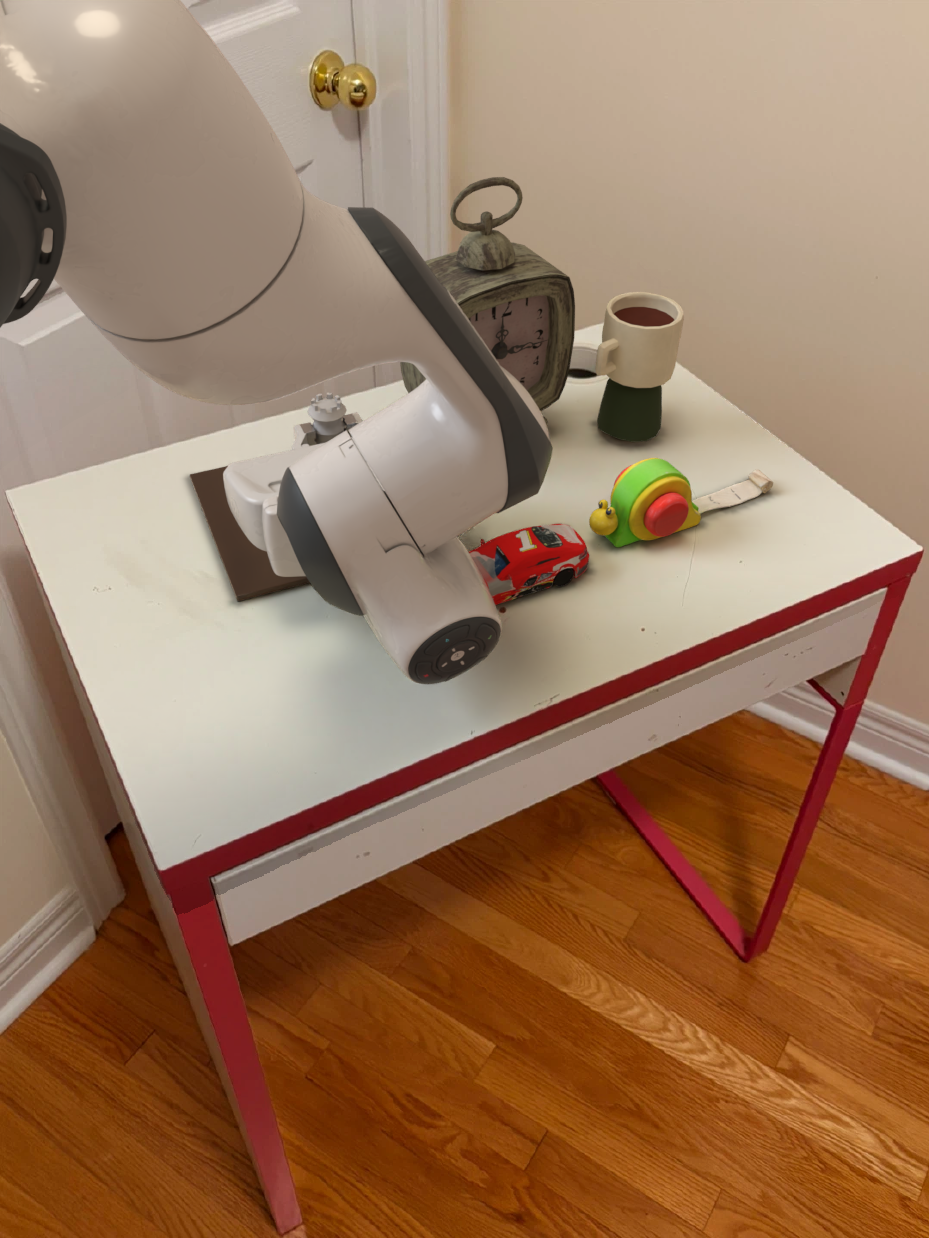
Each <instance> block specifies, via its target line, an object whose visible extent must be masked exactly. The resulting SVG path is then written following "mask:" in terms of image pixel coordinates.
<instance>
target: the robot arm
mask: <svg viewBox="0 0 929 1238" xmlns="http://www.w3.org/2000/svg"><path fill="white" fill-rule="evenodd" d="M425 261H426V260H425V259H424V258H423V257H422V256H421V254H420V252H419V251H418V250H417V248H416V247H415V245H414V244H413V243H412V241H411V240H410V239H409V237H408V236H407V235H406V234H405V233H404V232H403V231H402V230H401V228H399V227H398V225H396V224H395V222H393V221H392V220H391V219H390V218H389V217H387V216H386V215H385V214H383V213H382V212H380V211H379V210H377V209H376V208H375V207H369V206H367V207H361V206H358V207H355V206H347V208H344V207H341V206H338V205H335V204H333V203H330V202H328V201H325V200H324V199H321V198H320V197H318V196H316V195H315V194H313V193H312V192H310V191H309V190H308V189H307V187H305V186H304V184H303V183H302V181H301V180H300V177H299V176H298V174H297V171H296V169H295V167H294V165H293V164H292V161H291V160H290V158H289V156H288V153H287V152H286V150H285V149H284V147H283V145H282V143H281V141H280V139H279V138H278V136H277V134H276V132H275V131H274V129H273V128H272V126H271V124H270V122H269V121H268V119H267V117H266V115H265V114H264V112H263V111H262V109H261V107H260V106H259V104H258V103H257V101H256V100H255V98H254V97H253V95H252V94H251V92H250V91H249V89H248V88H247V86H246V84H245V83H244V82H243V80H242V79H241V77H240V76H239V74H238V72H237V71H236V69H235V68H234V66H232V64H231V63H230V61H229V60H228V59H227V57H226V56H225V54H224V53H223V52H222V50H221V49H220V48H219V46H218V45H217V44H216V42H215V41H214V40H213V38H212V37H211V36H210V34H209V33H208V32H207V31H206V30H205V29H204V27H203V26H202V24H201V23H200V22H199V21H198V20H197V18H196V17H195V16H194V14H192V12H191V11H190V10H189V9H188V7H187V6H186V5H185V4H184V3H183V1H182V0H0V328H2V326H3V325H5V324H9V323H13V322H16V321H18V320H20V319H23V318H24V317H26V316H27V315H29V314H30V313H31V312H32V311H33V310H34V309H35V308H36V307H37V306H38V304H40V302H41V300H42V299H43V298H44V297H45V295H46V294H47V292H48V291H49V289H50V287H51V285H52V283H53V281H55V282H56V283H57V284H58V285H59V287H60V288H61V289H62V290H63V291H64V293H65V294H66V295H67V296H68V297H69V299H70V300H71V301H72V302H73V303H74V304H75V305H76V306H77V308H78V309H79V311H80V312H81V313H83V315H84V316H85V317H86V318H87V319H88V321H90V323H91V324H92V325H93V326H94V327H95V328H96V330H97V331H99V333H100V334H101V335H102V336H103V337H104V338H105V339H106V341H108V343H110V344H111V345H112V346H113V347H114V348H115V349H116V350H117V351H118V352H119V353H120V354H121V355H122V356H123V357H124V358H125V359H126V360H127V361H128V362H130V364H132V365H133V366H134V367H135V368H136V369H138V370H139V371H140V372H141V373H143V374H144V375H145V376H146V377H148V378H149V379H150V380H152V381H153V382H155V383H157V384H158V385H160V386H161V387H163V388H165V389H166V390H169V391H170V392H172V393H175V394H177V395H179V396H182V397H184V398H186V399H190V400H193V401H197V402H200V403H206V404H212V405H222V406H246V405H256V404H261V403H268V402H271V401H276V400H279V399H283V398H286V397H289V396H292V395H294V394H297V393H300V392H302V391H305V390H307V389H309V388H312V387H315V386H317V385H320V384H323V383H325V382H327V381H331V380H333V379H335V378H338V377H339V378H340V377H341V376H345V375H347V374H350V373H353V372H356V371H360V370H363V369H367V368H371V367H375V366H379V365H383V364H393V363H400V362H408V363H412V364H414V365H415V366H416V367H417V369H418V370H419V371H420V372H421V373H422V374H423V376H424V377H425V378H426V380H425V381H424V382H423V383H422V384H420V385H419V386H418V387H417V388H416V389H414V390H413V391H411V392H410V393H408V392H407V393H406V394H405V395H404V396H403V395H402V396H401V398H398V399H397V400H395V401H394V402H392V403H390V404H388V405H387V406H385V407H383V408H381V409H380V410H379V411H377V412H375V413H374V414H372V415H370V416H369V417H368V418H366V419H364V420H363V418H362V417H361V416H360V414H359V412H357V411H356V412H352V413H348V414H345V415H344V416H343V418H342V421H343V422H344V424H345V427H344V429H343V433H341V434H339V435H338V436H336V437H334V438H333V439H331V440H329V441H328V442H326V443H321V444H317V442H316V440H315V439H316V431H315V429H314V427H312V424H313V423H312V422H305V423H304V422H303V423H299V424H295V425H293V435H294V436H293V437H294V442H293V443H292V445H291V449H290V450H285V451H281V452H276V453H271V454H266V455H262V456H258V457H257V456H256V457H253V458H248V459H244V460H238V461H234V462H231V463H230V464H228V465H227V466H228V467H227V468H226V469H225V471H224V473H223V480H224V487H225V492H226V497H227V501H228V504H229V507H230V510H231V512H232V514H233V516H234V518H235V519H236V521H237V523H238V525H239V526H240V528H241V529H242V531H243V532H244V534H245V535H246V537H247V538H248V539H249V541H250V542H251V543H252V544H253V545H255V546H256V547H257V548H259V549H261V550H263V551H267V553H268V557H269V560H270V563H271V566H272V569H273V571H274V573H275V574H276V575H278V576H282V577H297V576H306V577H307V579H308V580H309V582H310V583H309V584H310V585H311V586H312V588H313V590H314V591H315V592H316V593H317V594H318V595H319V596H320V597H321V598H322V600H323V601H325V602H326V603H327V604H329V605H330V606H332V607H335V608H337V609H340V610H341V611H343V612H346V613H349V614H352V615H354V616H358V617H359V616H360V617H364V619H365V621H366V623H367V625H368V627H370V629H371V631H372V633H373V634H374V637H376V639H377V641H378V642H379V644H380V645H381V647H382V648H383V650H384V651H385V653H386V654H387V656H388V657H389V658H390V659H391V660H392V662H393V663H394V664H395V666H396V667H397V668H398V669H399V670H400V671H401V672H402V674H403V675H404V676H405V677H406V678H407V679H409V680H410V681H411V682H412V683H416V684H420V685H435V684H436V685H437V684H441V683H445V682H449V681H451V680H453V679H456V678H457V677H459V676H461V675H463V674H464V673H466V672H468V671H469V670H471V669H472V668H474V667H475V666H477V665H479V664H480V663H481V662H483V661H484V660H485V659H486V658H487V657H489V655H490V654H491V653H492V652H493V651H494V649H495V648H496V647H497V644H498V643H499V641H500V639H501V636H502V631H503V626H502V620H501V617H500V614H499V610H498V609H497V605H495V603H494V601H493V598H492V596H491V594H490V592H489V589H488V587H487V585H486V583H485V581H484V579H483V577H482V575H481V573H480V571H479V569H478V567H477V566H476V564H475V562H474V560H473V559H472V557H471V555H470V554H469V551H468V549H467V547H466V546H465V545H464V543H463V542H462V541H461V539H459V536H460V535H462V534H463V533H465V532H467V531H468V530H470V529H472V528H474V527H476V526H477V525H479V524H480V523H482V522H483V521H485V520H487V519H489V518H490V517H492V516H493V515H495V514H500V513H502V512H504V511H506V510H508V509H510V508H512V507H514V506H516V505H518V504H520V503H522V502H524V501H526V500H528V499H531V498H533V497H535V496H536V495H538V494H539V492H540V491H541V487H542V485H543V483H544V482H545V481H544V480H545V479H546V475H547V472H548V470H549V466H550V463H551V460H552V454H553V449H554V447H553V445H552V443H551V436H550V431H549V429H548V426H547V425H546V422H545V420H544V417H545V416H544V415H543V414H542V411H540V410H539V408H538V406H537V404H536V403H535V401H534V400H533V398H532V397H531V395H530V394H529V393H528V391H527V390H526V389H525V388H524V386H523V385H522V384H521V383H520V382H519V381H518V380H517V379H516V378H515V377H514V376H513V375H511V374H510V373H509V372H508V371H507V370H505V369H504V368H503V367H502V366H500V365H499V362H498V361H497V360H496V358H495V357H494V356H493V354H492V352H491V351H490V350H489V348H488V347H487V345H486V344H485V343H484V341H483V339H482V338H481V337H480V335H479V334H478V332H477V331H476V330H475V328H474V326H473V325H472V324H471V322H470V321H469V319H468V318H467V316H466V315H465V314H464V313H463V311H462V309H461V308H460V306H459V305H458V303H456V301H455V299H454V298H453V296H451V294H450V292H449V291H448V290H447V289H446V287H445V286H442V284H441V283H440V282H439V280H438V279H437V277H436V276H435V275H434V273H433V272H432V270H431V269H430V268H429V266H428V265H427V264H426V262H425ZM34 280H37V281H36V282H35V284H34V285H33V286H32V287H31V288H30V290H29V291H28V292H27V293H26V294H25V295H24V293H25V291H26V290H27V288H28V286H29V285H30V284H31V282H32V281H34ZM23 295H24V296H23ZM543 416H544V417H543Z"/></svg>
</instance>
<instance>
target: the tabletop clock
mask: <svg viewBox="0 0 929 1238" xmlns="http://www.w3.org/2000/svg"><path fill="white" fill-rule="evenodd" d="M500 186H504V187H507V188H510V189H512V190H513V192H515V194H516V198H517V199H516V202H515V204H514V206H513V207H512V208H511V209H510V210H509V211H508V212H506V213H504V214H502V215H501V216H499V217H495V218H493V216H494V215H493V214H492V212H491V211H483V212H481V214H480V221H479V222H475V223H469V222H462V221H461V220H459V219H458V218H457V209H458V208H459V206H460V204H461V203H462V202H463V201H464V200H465V199H466V197H468V196H469V195H471V194H472V193H474V192H477V191H480V190H483V189H486V188H491V187H500ZM523 199H524V197H523V191H522V189H521V186H520V185H519V184H518V183H516V182H515V181H514V180H513V179H510V178H508V177H505V176H493V177H487V178H483V179H480V180H477V181H475V182H472V183H470V184H468V185H467V186H466V187H464V188H463V189H462V190H460V192H459V193H458V194H457V196H456V197H455V198H454V200H453V202H452V205H451V207H450V213H449V216H450V220H451V222H452V224H453V225H454V226H455V227H456V228H458V229H459V230H461V231H463V232H468V233H467V234H466V235H465V236H464V237H463V238H462V240H461V241H460V243H459V246H458V249H457V251H453V252H450V253H447V254H444V255H440V256H436V257H433V258H431V259H427V260H424V261H425V262H426V264H427V265H428V266H429V268H430V269H431V270H432V272H433V273H434V275H435V276H436V277H437V279H438V280H439V282H440V283H441V284H442V286H445V287H446V289H447V290H448V291H449V292H450V294H451V296H453V298H454V299H455V301H456V303H458V305H459V306H460V308H461V309H462V311H463V313H464V314H465V315H466V316H467V318H468V319H469V321H470V322H471V324H472V325H473V326H474V328H475V330H476V331H477V332H478V334H479V335H480V337H481V338H482V339H483V341H484V343H485V344H486V345H487V347H488V348H489V350H490V351H491V352H492V354H493V356H494V357H495V358H496V360H497V361H498V362H499V365H500V366H502V367H503V368H504V369H505V370H507V371H508V372H509V373H510V374H511V375H513V376H514V377H515V378H516V379H517V380H518V381H519V382H520V383H521V384H522V385H523V386H524V388H525V389H526V390H527V391H528V393H529V394H530V395H531V397H532V398H533V400H534V401H535V403H536V404H537V406H538V408H539V410H540V411H541V412H543V411H544V410H546V409H548V408H549V407H551V406H552V405H554V403H556V402H558V401H559V400H560V398H561V397H562V394H563V391H564V389H565V386H566V384H567V380H568V377H569V373H570V372H569V371H570V368H571V362H572V356H573V355H572V354H573V349H574V344H575V343H574V342H575V334H576V333H575V332H576V331H575V330H576V329H575V327H576V301H575V290H574V287H573V284H572V281H571V278H570V276H568V275H567V274H566V273H565V272H563V271H562V270H560V269H559V268H557V267H556V266H554V265H553V264H552V263H551V262H549V261H548V260H546V259H545V258H543V257H542V256H541V255H539V254H538V253H536V252H535V251H533V250H532V249H530V248H529V247H528V246H526V245H525V244H521V243H517V242H512V241H511V240H510V238H508V237H507V236H506V235H505V234H504V233H502V232H501V231H500V230H496V229H495V228H497V227H500V226H503V224H505V223H506V222H508V221H510V220H511V219H513V218H514V217H515V215H516V214H517V213H518V211H519V210H520V208H521V205H522V203H523ZM399 365H400V373H401V377H402V381H403V386H404V388H405V389H406V392H407V394H408V393H410V392H411V391H413V390H414V389H416V388H417V387H418V386H419V385H420V384H422V383H423V382H424V381H425V380H426V378H425V377H424V376H423V374H422V373H421V372H420V371H419V370H418V369H417V367H416V366H415V365H414V364H412V363H408V362H399ZM543 417H544V420H545V422H546V425H547V427H548V425H549V421H548V419H547V417H546V416H544V415H543Z"/></svg>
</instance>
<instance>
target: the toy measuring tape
mask: <svg viewBox="0 0 929 1238" xmlns="http://www.w3.org/2000/svg"><path fill="white" fill-rule="evenodd" d="M747 477H748V479H746V480H743V481H742V482H738V483H734V484H732V485H729V486H727V487H724V488H722V489H719V490H717V491H715V492H714V491H713V492H711V493H709V494H706V495H703V496H699V497H698V498H695V499H693V493H692V488H691V484H690V480H689V479H688V477H686V476H685V474H683V473H682V472H681V471H679V470H678V468H676V467H675V466H673V465H672V464H671V463H670V462H669V461H668V460H666V459H663V458H659V457H649V458H645V459H642V460H639V461H636V462H635V463H633V464H631V465H628V466H627V467H625V468H624V469H623V470H622V471H621V472H620V473H619V474H618V475H617V476H616V479H615V480H614V483H613V488H612V490H611V494H610V498H609V501H610V506H609V502H608V501H607V499H604V498H603V499H600V500H599V501H598V508H596V509H594V510H593V511H592V512H591V514H590V516H589V518H588V523H589V528H590V529H591V531H592V532H593V533H595V534H596V535H599V536H604V537H605V538H606V539H607V540H608V541H609V542H610V543H611V544H612V545H613V546H614V547H615V548H621V547H624V546H628V545H630V544H634V543H636V542H638V541H641V540H643V541H653V540H657V539H660V538H664V537H668V536H670V535H672V534H675V533H677V532H680V531H684V530H686V529H690V528H692V527H695V526H697V525H698V524H700V522H701V520H702V516H701V515H702V514H703V513H705V512H708V511H712V510H717V509H721V508H723V509H724V508H728V507H729V508H732V507H733V506H737V505H740V504H742V503H745V502H747V501H750V500H752V499H755V498H757V497H759V496H760V495H762V493H763V494H766V493H767V492H769V491H770V490H771V489H772V488H773V485H774V482H773V480H771V479H770V478H769V477H768V476H767V475H766V474H765V473H763V472H762V471H761V470H760V469H754V470H752V471H751V472H750V473H749V474H748V475H747Z"/></svg>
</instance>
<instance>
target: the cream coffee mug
mask: <svg viewBox="0 0 929 1238" xmlns="http://www.w3.org/2000/svg"><path fill="white" fill-rule="evenodd" d="M684 314H685V312H684V310H683V308H682V306H681V304H679V303H678V302H677V301H676V300H674V299H673V298H670V297H667V296H664V295H662V294H659V293H653V292H646V291H630V292H625V293H624V292H623V293H621V294H618V295H616V296H613V297H612V298H611V299H610V300H609V301H607V306H606V308H605V313H604V321H603V325H602V332H601V343H600V344H599V345H598V347H597V350H596V358H595V367H594V370H595V374H596V376H597V377H602V376H603V377H604V376H607V377H608V379H607V381H606V384H605V388H604V391H603V395H602V398H601V402H600V405H599V410H598V415H597V420H596V422H597V423H596V424H597V426H598V427H597V429H598V430H600V431H601V432H603V433H604V434H606V435H609V436H611V437H613V438H615V439H618V440H621V441H625V442H631V443H637V442H638V443H639V442H647V441H649V440H651V439H653V438H655V437H657V436H658V434H659V433H660V430H661V428H662V417H663V416H662V415H663V414H662V413H663V387H662V386H664V385H665V384H666V383H668V381H670V380H671V379H672V377H673V374H674V371H675V368H676V365H677V357H678V351H679V347H680V346H679V345H680V340H681V337H682V332H683V326H684V320H685V315H684Z"/></svg>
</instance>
